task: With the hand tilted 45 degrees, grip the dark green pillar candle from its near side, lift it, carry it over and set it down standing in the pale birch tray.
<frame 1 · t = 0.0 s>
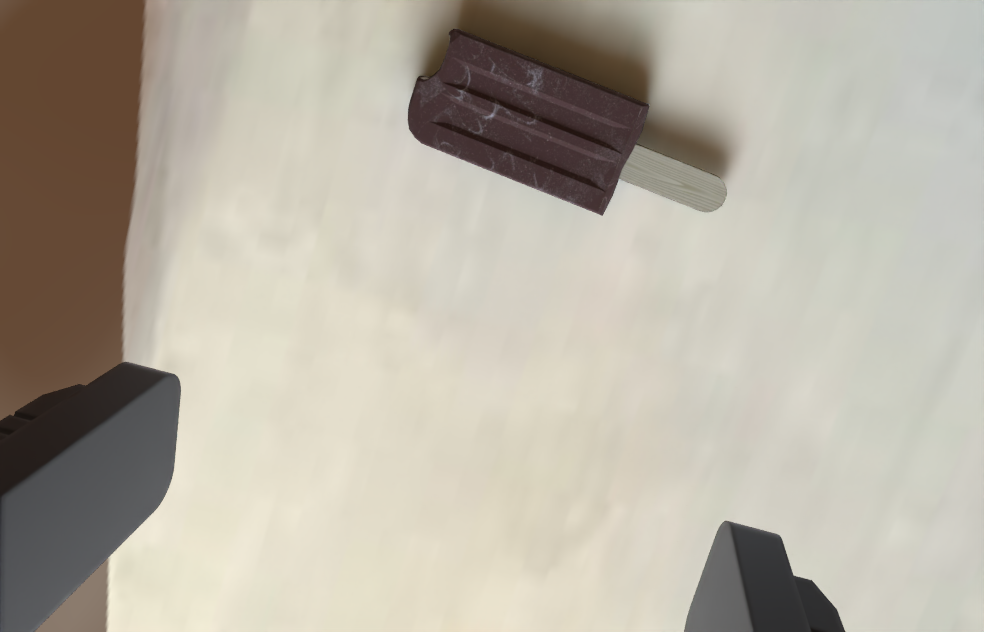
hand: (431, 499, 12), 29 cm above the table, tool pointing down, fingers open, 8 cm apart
ice cream bar: (572, 136, 39), on the table
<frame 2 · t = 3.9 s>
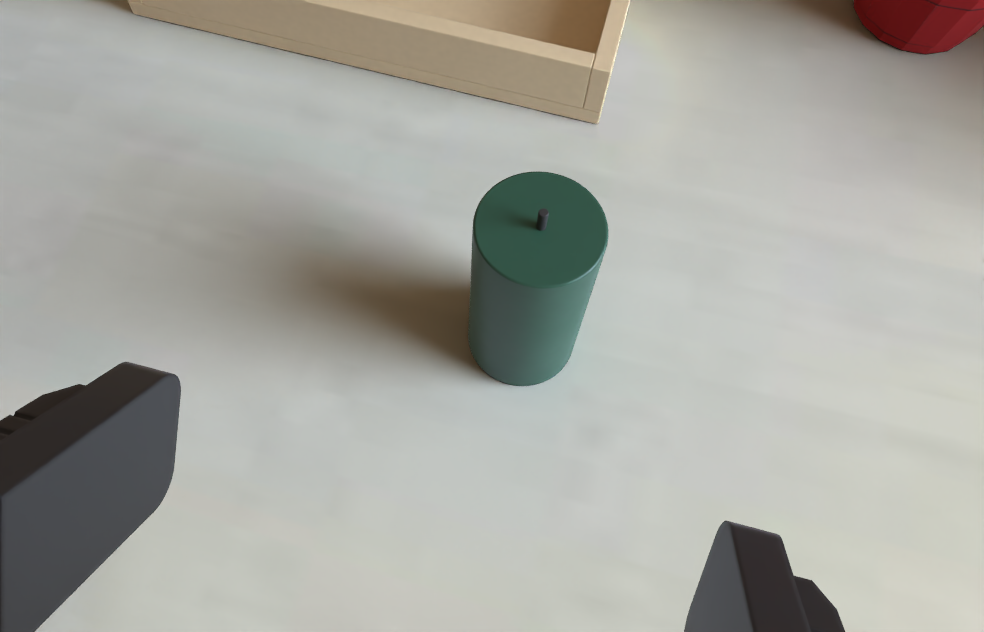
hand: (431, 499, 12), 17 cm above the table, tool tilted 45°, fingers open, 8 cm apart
green candle: (520, 337, 32), on the table
plastic cup: (911, 10, 40), on the table
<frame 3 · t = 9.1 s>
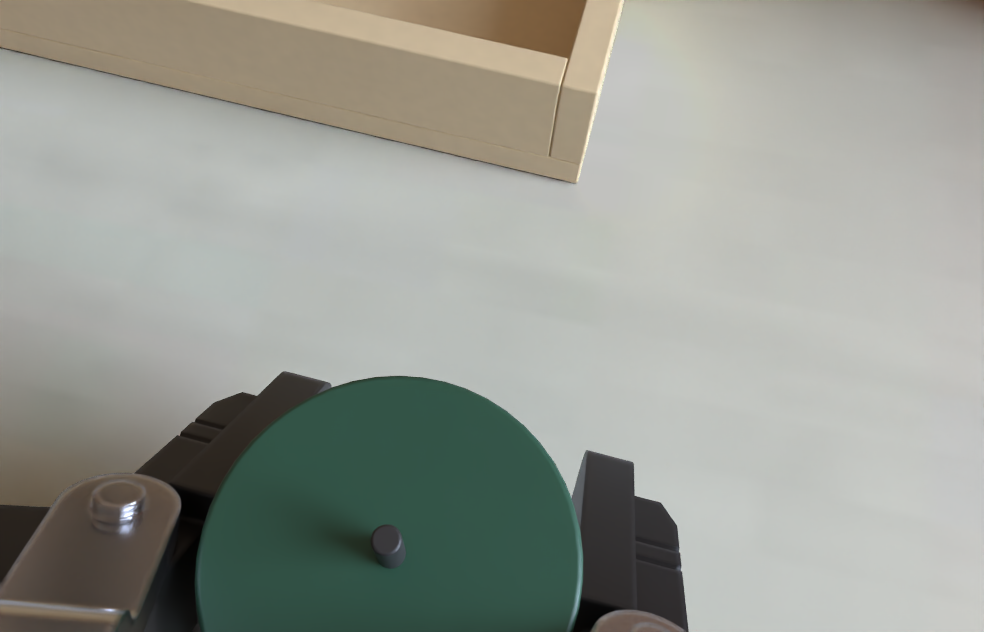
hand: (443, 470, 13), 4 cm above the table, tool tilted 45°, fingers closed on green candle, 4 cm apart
green candle: (418, 626, 16), on the table, touching gripper
when the fingers open (5 cm above the table, at t = 19.2 s): green candle stays where it is, resting on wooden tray.
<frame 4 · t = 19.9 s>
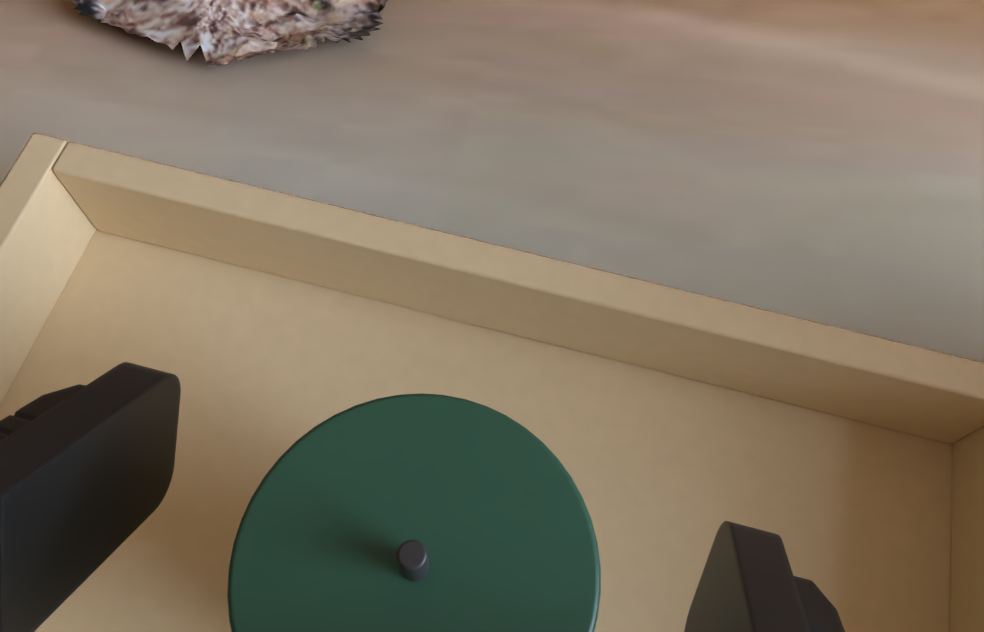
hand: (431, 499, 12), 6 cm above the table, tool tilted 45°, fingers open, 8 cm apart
green candle: (435, 631, 16), point 1 cm above the table, touching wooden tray
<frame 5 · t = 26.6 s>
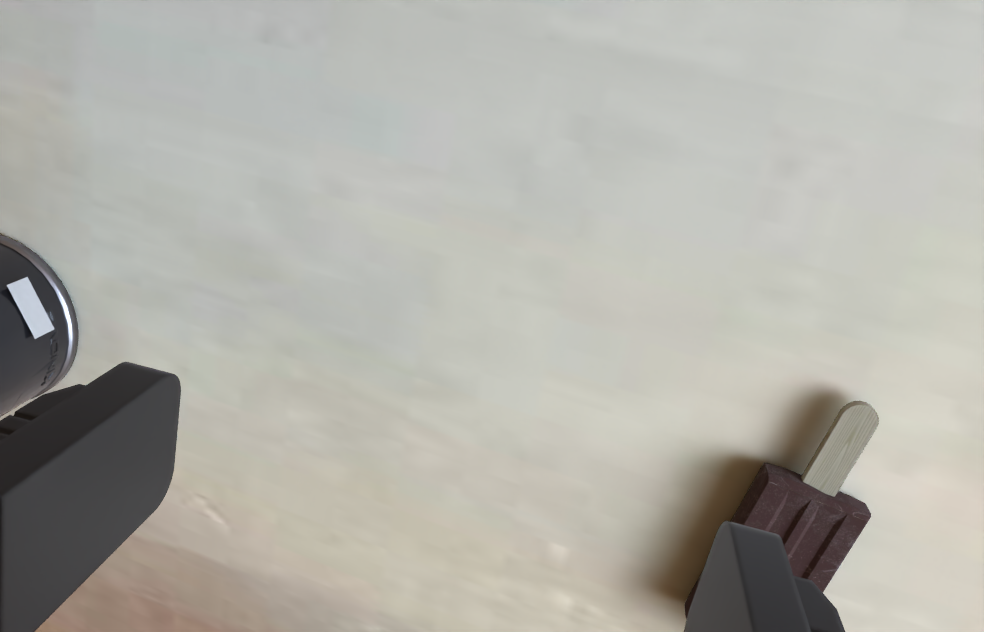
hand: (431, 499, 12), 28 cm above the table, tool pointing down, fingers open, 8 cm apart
ice cream bar: (787, 519, 42), on the table
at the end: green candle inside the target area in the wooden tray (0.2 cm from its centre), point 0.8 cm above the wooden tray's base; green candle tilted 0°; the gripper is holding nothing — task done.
